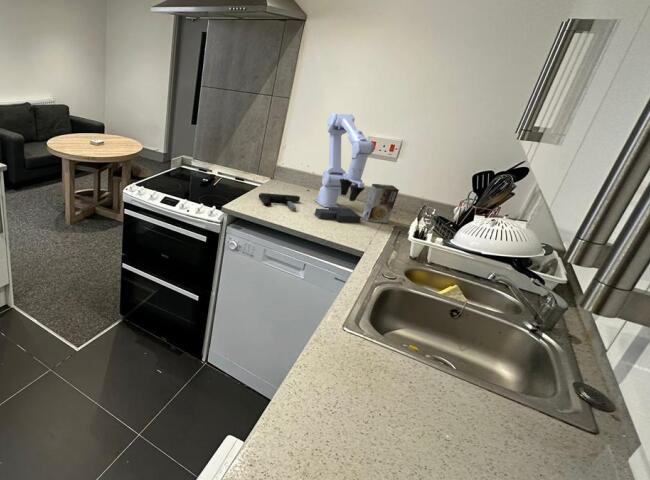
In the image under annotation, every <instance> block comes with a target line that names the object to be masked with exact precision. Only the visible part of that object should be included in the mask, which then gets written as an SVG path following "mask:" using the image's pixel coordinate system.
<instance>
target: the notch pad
mask: <svg viewBox="0 0 650 480" xmlns="http://www.w3.org/2000/svg"><path fill="white" fill-rule="evenodd" d="M328 209H331V210H334V211H338V212H339V213H336V216H335V219H334V221H336V222H337V223H349V224H351V223H352V224H353V223H355V224H360V222H361V220H362V215H360V214H358V213H357V212H355V211H354V210H353V209H351V208H348V207H339V208H335V207H328Z"/></svg>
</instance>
